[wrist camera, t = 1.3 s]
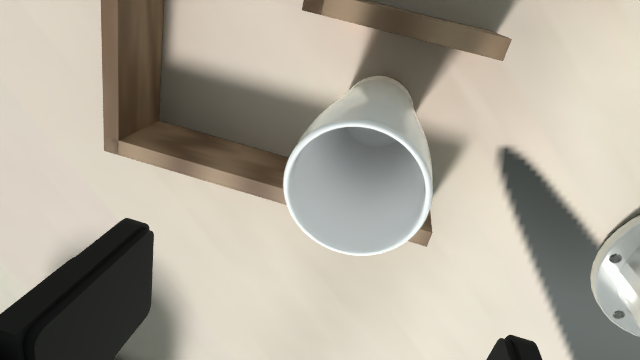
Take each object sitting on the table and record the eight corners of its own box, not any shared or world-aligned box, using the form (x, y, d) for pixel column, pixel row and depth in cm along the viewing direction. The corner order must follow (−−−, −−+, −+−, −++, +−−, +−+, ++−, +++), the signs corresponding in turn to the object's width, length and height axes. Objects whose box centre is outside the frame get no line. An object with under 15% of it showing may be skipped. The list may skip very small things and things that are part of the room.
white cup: (332, 66, 31) (272, 119, 17) (425, 62, 29) (439, 117, 16) (336, 150, 33) (287, 254, 20) (422, 151, 32) (431, 263, 18)
